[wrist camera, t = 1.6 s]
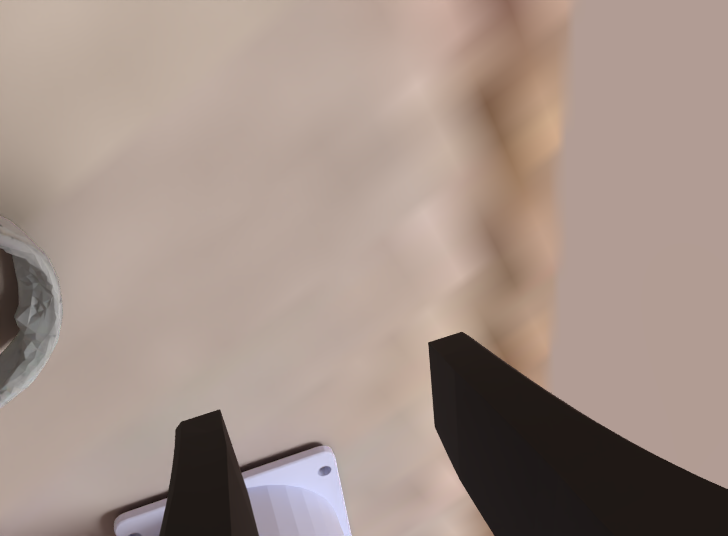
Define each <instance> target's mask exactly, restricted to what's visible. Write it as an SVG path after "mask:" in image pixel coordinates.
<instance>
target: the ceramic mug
mask: <svg viewBox="0 0 728 536" xmlns="http://www.w3.org/2000/svg"><path fill="white" fill-rule="evenodd" d="M0 248H1V249H3V250H4V251H5V252H6V253H9V254H12V258H13V263H14V268H15V273H16V278H17V281H18V293H19V306H18V308H17V311H16V313H15V315H14V317H15V320H16V323H17V325H18V327H19V328H20V330H19V332H18V334H17V336H16V337H15V338H14V339H13V341H12V342H11V343H10V344H9V346H8V347H7V348H6V349H5V350H4V351H3V352H2V353H1V354H0V408H2V407H3V406H4V405H6V404H7V403H8V402H9V401H11V400H12V399H13V398H14V397H16V396H17V395H18V394H19V393H21V392H22V391H23V390H25V389H26V388H27V387H28V386H29V385H30V384H31V383H32V382H33V381H34V380H35V378H36V377H37V376H38V374H39V373H40V371H41V370H42V369H43V367H44V366H45V364H46V363H47V361H48V360H49V358H50V356H51V354H52V352H53V350H54V348H55V346H56V344H57V342H58V338H59V333H60V328H61V323H62V315H63V309H62V298H61V291H60V285H59V279H58V276H57V274H56V272H55V270H54V267H53V265H52V263H51V261H50V259H49V258H48V257H47V255H46V254H45V253H44V252H43V251H42V250H41V248H40V247H39V246H38V245H37V244H36V243H35V242H34V241H33V240H32V239H31V238H30V237H29V236H28V235H27V234H25V233H24V232H23V231H22V230H21V229H20V228H19V227H18V226H17V225H15V224H14V223H13V222H12V221H11V220H9V219H7V218H5V217H2V216H0Z"/></svg>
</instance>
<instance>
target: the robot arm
mask: <svg viewBox="0 0 728 536" xmlns="http://www.w3.org/2000/svg"><path fill="white" fill-rule="evenodd" d="M428 345H429V358H430V371H431V384H432V397H433V410H434V423H435V428H436V430H437V433H438V435H439V437H440V439H441V441H442V443H443V446H444V448H445V450H446V452H447V454H448V456H449V458H450V461H451V463H452V465H453V467H454V469H455V471H456V473H457V475H458V477H459V479H460V481H461V482H462V484H463V486H464V487H465V489H466V491H467V492H468V494H469V496H470V497H471V499H472V500H473V502H474V504H475V505H476V507H477V508H478V510H479V512H480V513H481V515H482V516H483V518H484V520H485V521H486V523H487V524H488V526H489V528H490V529H491V531H492V532H493V534H494V536H728V489H726V488H724V487H721V486H719V485H717V484H715V483H712V482H710V481H708V480H706V479H703V478H701V477H699V476H697V475H695V474H692V473H691V472H689V471H686V470H685V469H682V468H680V467H678V466H676V465H674V464H672V463H670V462H668V461H666V460H664V459H662V458H660V457H658V456H656V455H654V454H652V453H650V452H648V451H647V450H645V449H643V448H641V447H639V446H637V445H636V444H634V443H632V442H630V441H628V440H627V439H625V438H623V437H621V436H620V435H617V434H616V433H614V432H612V431H611V430H609V429H608V428H606V427H604V426H602V425H601V424H599V423H597V422H595V421H594V420H592V419H590V418H589V417H587V416H586V415H584V414H582V413H581V412H579V411H577V410H576V409H574V408H573V407H571V406H570V405H568V404H567V403H565V402H564V401H562V400H560V399H559V398H557V397H556V396H554V395H553V394H551V393H550V392H548V391H546V390H545V389H543V388H542V387H540V386H539V385H537V384H536V383H534V382H533V381H532V380H530V379H529V378H527V377H526V376H524V375H523V374H521V373H520V372H519V371H517V370H516V369H514V368H513V367H511V366H510V365H509V364H507V363H506V362H504V361H503V360H501V359H500V358H499V357H497V356H496V355H495V354H493V353H492V352H490V351H489V350H488V349H486V348H485V347H483V346H482V345H481V344H479V343H478V342H477V341H475V340H474V339H472V338H471V337H470V336H468V335H467V334H465V333H463V332H460V333H457V334H454V335H450V336H447V337H444V338H441V339H438V340H435V341H432V342H429V343H428ZM324 466H325V467H324ZM322 467H323V468H322ZM114 532H115V535H116V536H352V535H351V531H350V526H349V521H348V516H347V512H346V507H345V502H344V497H343V492H342V488H341V483H340V478H339V473H338V469H337V464H336V459H335V456H334V453H333V451H332V449H331V448H330V447H328V446H318V447H315V448H312V449H309V450H306V451H303V452H300V453H297V454H294V455H291V456H288V457H285V458H283V459H280V460H277V461H274V462H271V463H268V464H265V465H262V466H259V467H256V468H253V469H250V470H247V471H245V472H242V473H241V470H240V467H239V464H238V461H237V458H236V455H235V453H234V450H233V447H232V444H231V441H230V438H229V435H228V432H227V429H226V426H225V423H224V420H223V417H222V414H221V411H220V410H217V411H213V412H210V413H207V414H204V415H201V416H198V417H195V418H192V419H189V420H185V421H182V422H181V423H180V424H179V425H178V427H177V428H176V433H175V449H174V458H173V466H172V473H171V479H170V485H169V491H168V496H167V498H166V499H163V500H160V501H157V502H154V503H151V504H148V505H145V506H142V507H139V508H136V509H134V510H131V511H128V512H125V513H123V514H121V515H119V516H118V517H117V518H116V519H115V521H114ZM132 533H134V534H132Z"/></svg>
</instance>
